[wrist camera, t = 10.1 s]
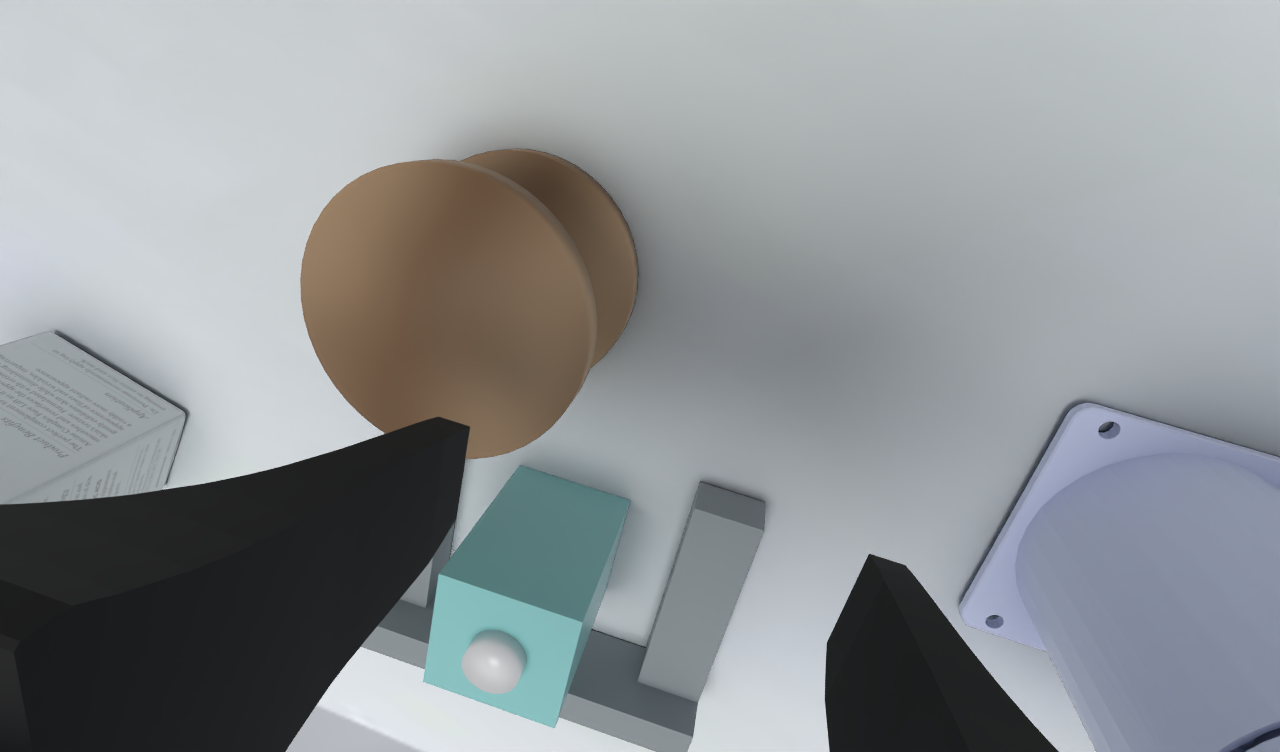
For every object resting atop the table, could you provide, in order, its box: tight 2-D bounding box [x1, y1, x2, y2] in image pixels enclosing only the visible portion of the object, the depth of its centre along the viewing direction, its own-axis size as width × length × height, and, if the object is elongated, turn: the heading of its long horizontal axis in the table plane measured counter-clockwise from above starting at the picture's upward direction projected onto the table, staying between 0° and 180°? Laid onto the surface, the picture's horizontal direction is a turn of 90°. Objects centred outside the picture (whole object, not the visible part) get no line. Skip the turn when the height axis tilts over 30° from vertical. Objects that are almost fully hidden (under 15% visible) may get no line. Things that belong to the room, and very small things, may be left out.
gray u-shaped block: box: [361, 433, 765, 752], centre depth 23 cm, size 12×9×3 cm
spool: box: [300, 149, 638, 459], centre depth 18 cm, size 7×7×6 cm
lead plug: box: [423, 465, 631, 728], centre depth 21 cm, size 4×4×7 cm
